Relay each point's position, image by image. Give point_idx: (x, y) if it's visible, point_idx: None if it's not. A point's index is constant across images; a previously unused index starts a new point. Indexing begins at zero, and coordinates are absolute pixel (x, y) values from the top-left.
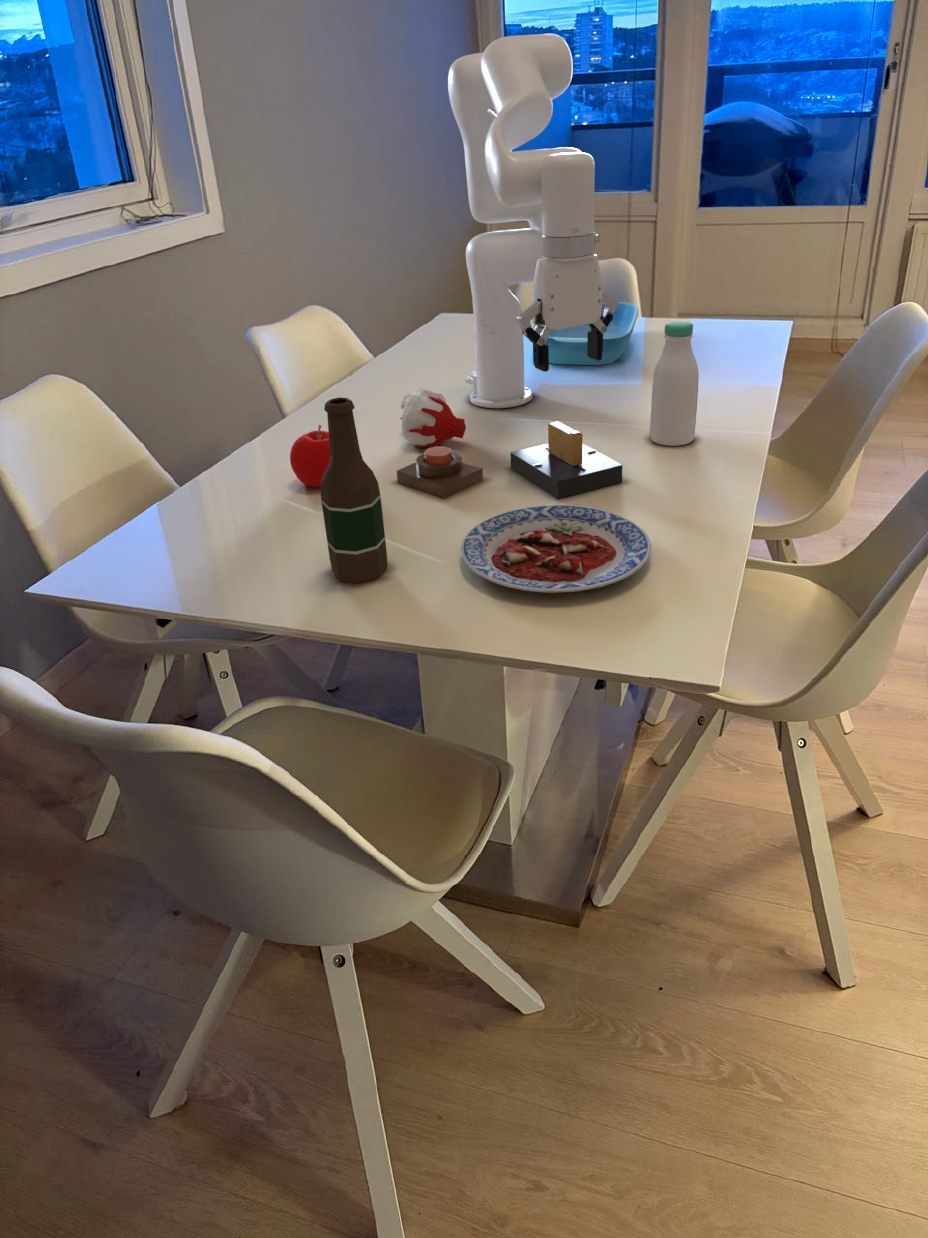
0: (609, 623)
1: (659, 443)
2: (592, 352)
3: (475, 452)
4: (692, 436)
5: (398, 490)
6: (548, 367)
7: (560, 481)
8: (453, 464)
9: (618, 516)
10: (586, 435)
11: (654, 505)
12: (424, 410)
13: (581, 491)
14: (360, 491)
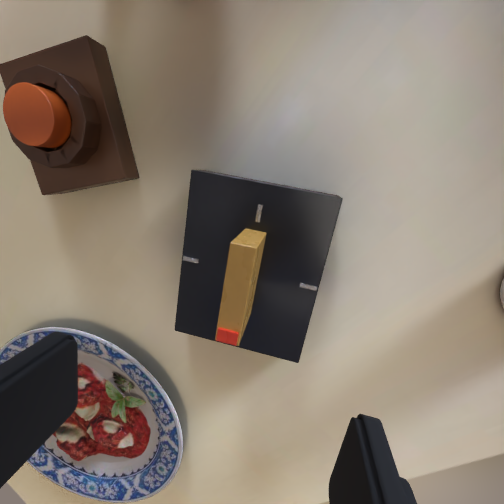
0: (73, 496)
1: (500, 290)
2: (344, 480)
3: (204, 34)
4: None
5: None
6: (66, 417)
7: (179, 330)
8: (56, 165)
9: (178, 437)
10: (454, 130)
11: (270, 416)
12: None
13: None
14: None
